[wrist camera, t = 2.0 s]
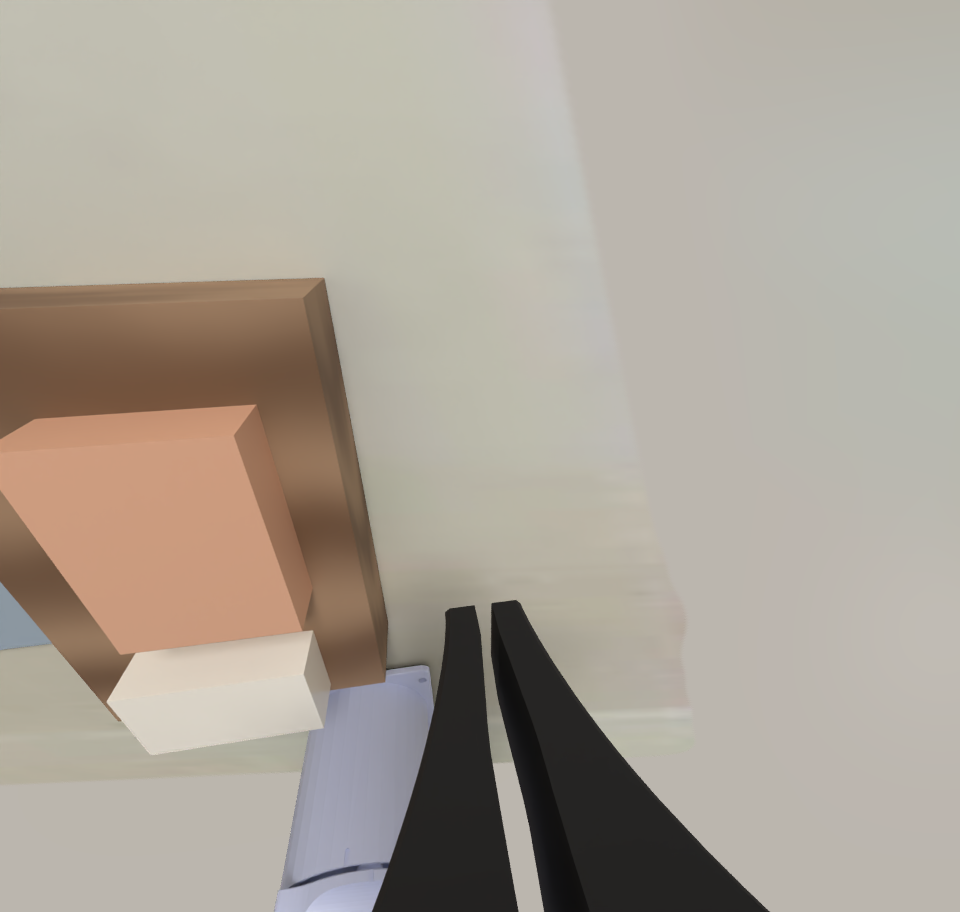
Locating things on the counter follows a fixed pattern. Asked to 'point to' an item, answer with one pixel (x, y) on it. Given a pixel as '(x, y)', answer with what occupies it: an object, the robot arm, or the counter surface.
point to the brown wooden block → (188, 385)
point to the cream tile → (223, 692)
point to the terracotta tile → (163, 523)
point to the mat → (17, 624)
